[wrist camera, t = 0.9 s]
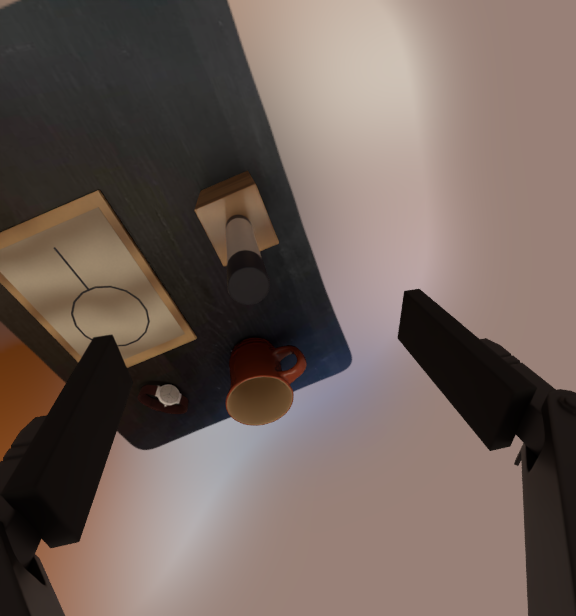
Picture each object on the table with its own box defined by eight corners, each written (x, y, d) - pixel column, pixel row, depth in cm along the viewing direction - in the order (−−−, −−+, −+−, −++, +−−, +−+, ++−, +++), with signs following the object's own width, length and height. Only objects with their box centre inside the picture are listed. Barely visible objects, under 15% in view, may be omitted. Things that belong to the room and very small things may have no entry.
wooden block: (200, 190, 37) (193, 209, 28) (247, 170, 37) (255, 183, 28) (223, 237, 40) (223, 266, 32) (267, 218, 40) (279, 243, 31)
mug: (248, 383, 53) (253, 435, 44) (212, 352, 48) (211, 402, 40) (308, 344, 51) (326, 389, 42) (276, 307, 47) (289, 349, 38)
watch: (194, 391, 51) (193, 408, 48) (180, 410, 53) (178, 428, 50) (148, 374, 48) (143, 391, 45) (134, 395, 50) (129, 413, 47)
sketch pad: (-31, 245, 36) (-35, 247, 35) (99, 189, 35) (97, 190, 35) (97, 378, 47) (96, 381, 46) (196, 336, 47) (196, 339, 46)
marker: (223, 215, 29) (224, 269, 18) (250, 212, 29) (268, 264, 18) (227, 241, 30) (230, 307, 19) (253, 238, 31) (271, 302, 20)
